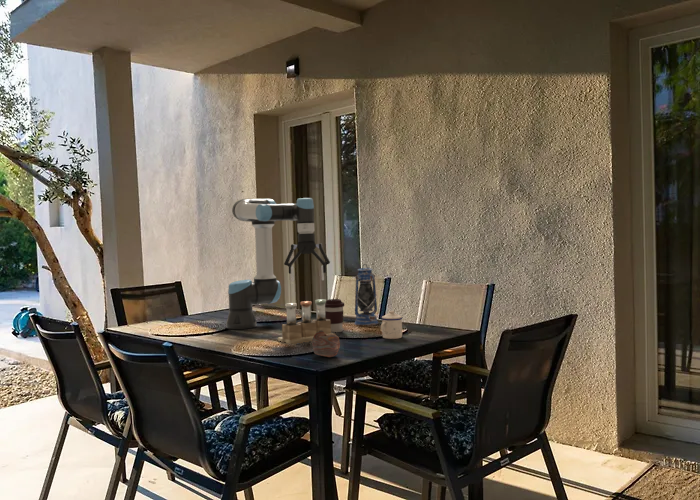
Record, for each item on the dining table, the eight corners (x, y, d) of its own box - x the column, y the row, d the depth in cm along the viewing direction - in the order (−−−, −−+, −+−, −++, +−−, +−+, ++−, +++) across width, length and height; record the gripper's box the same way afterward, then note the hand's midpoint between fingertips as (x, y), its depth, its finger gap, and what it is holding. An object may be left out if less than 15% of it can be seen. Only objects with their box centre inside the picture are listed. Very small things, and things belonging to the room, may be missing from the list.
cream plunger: (283, 327, 262) (282, 303, 262) (293, 325, 266) (292, 302, 265) (290, 328, 259) (289, 304, 258) (299, 327, 262) (298, 303, 261)
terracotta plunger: (298, 324, 268) (298, 302, 267) (308, 323, 271) (307, 300, 270) (305, 326, 264) (304, 303, 263) (314, 324, 267) (313, 301, 266)
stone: (310, 356, 232) (309, 330, 232) (324, 352, 239) (323, 327, 238) (335, 360, 224) (334, 333, 224) (349, 355, 231) (348, 329, 230)
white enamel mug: (390, 334, 273) (390, 308, 272) (406, 336, 266) (406, 310, 266) (373, 338, 264) (372, 312, 263) (389, 341, 258) (389, 313, 257)
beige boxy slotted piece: (277, 340, 265) (277, 323, 265) (320, 333, 279) (319, 317, 279) (293, 344, 256) (292, 327, 255) (335, 337, 270) (335, 320, 270)
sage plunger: (313, 322, 273) (312, 300, 272) (322, 321, 276) (321, 299, 275) (320, 323, 269) (319, 301, 268) (329, 322, 272) (328, 300, 271)
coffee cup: (342, 333, 279) (341, 301, 278) (321, 333, 281) (320, 301, 280) (347, 329, 289) (346, 298, 288) (326, 329, 291) (325, 298, 290)
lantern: (368, 320, 315) (366, 263, 314) (385, 322, 306) (384, 263, 305) (347, 324, 304) (345, 264, 303) (364, 326, 295) (362, 265, 294)
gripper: (276, 233, 265) (278, 282, 266) (333, 232, 263) (334, 280, 264) (280, 233, 273) (281, 280, 274) (334, 232, 271) (336, 279, 272)
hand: (307, 280), depth 269 cm, fingers open, 13 cm apart
